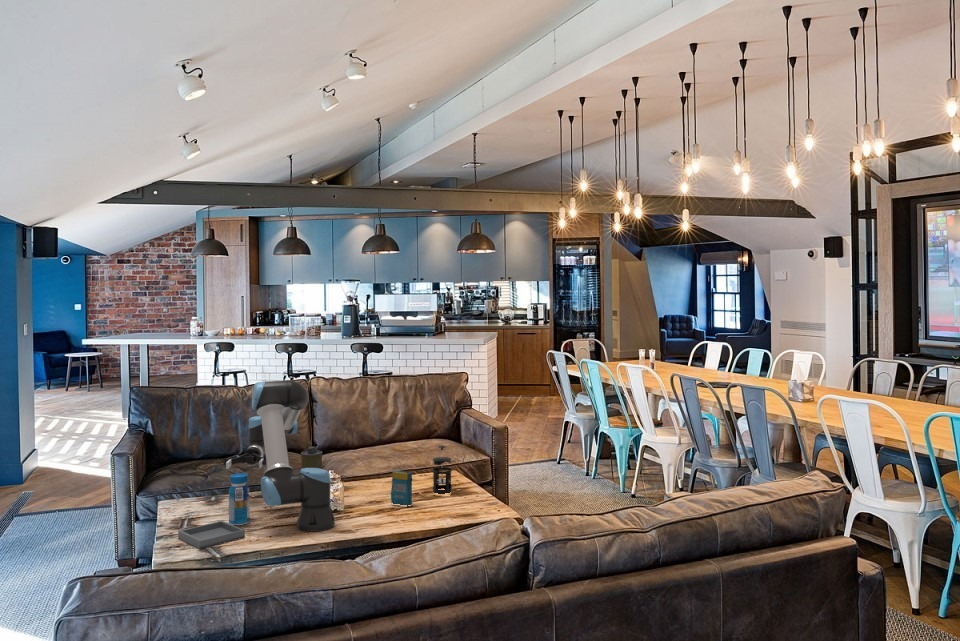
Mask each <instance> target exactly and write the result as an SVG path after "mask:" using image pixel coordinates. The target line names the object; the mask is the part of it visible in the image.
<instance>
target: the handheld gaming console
mask: <svg viewBox="0 0 960 641" xmlns="http://www.w3.org/2000/svg"><path fill="white" fill-rule="evenodd" d="M412 485H413V474H412V472H410V471H409V472H408V471H399V470H393V471H391V489H390V490H391V491H390V499H391V501H390V502H391V504H392V503H393V504H400V505H407V506H408V505H411V504H412V505H413V486H412Z"/></svg>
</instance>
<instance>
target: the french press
mask: <svg viewBox="0 0 960 641" xmlns="http://www.w3.org/2000/svg"><path fill="white" fill-rule="evenodd" d="M437 448H439V449H440V451H443V450H444V449H445V448H447V446H446V445H438V446H437ZM432 461H433V465H435V466H436V467H433V468H432V474H433V477H432V478H433V480H432V481H433V483H432V493H433V492H434V493H438V494H445V493H450V492H451V491H453V487H452V470H453V468H451V467H447V466H443V464H444V463H450V464H451V463H452V462H451V461H452V458H451V457H448V456H436V457H434V458H432ZM438 466H439V467H438ZM440 475H441V478H440ZM443 475H445V478H443ZM441 488H444V489H445V490H438V489H441Z"/></svg>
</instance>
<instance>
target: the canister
mask: <svg viewBox="0 0 960 641" xmlns="http://www.w3.org/2000/svg"><path fill="white" fill-rule="evenodd" d="M306 449H307V450H304V451H301V453H300V454H301V455H300V456H301V458H300V459H301V460H300V461H301V468H300V470H301V469H303V468H319V469H323V451H321V450H319V449H317V447H316V446H308V447H307V448H306Z"/></svg>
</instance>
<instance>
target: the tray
mask: <svg viewBox="0 0 960 641" xmlns="http://www.w3.org/2000/svg"><path fill="white" fill-rule="evenodd" d="M245 531H246V530H245V529H243V528H241V527H238V526H234V525H232V524H229V522H227V521H225V520H219V521H215V522H211V523H205V524H201V525H198V526H192V527H190V528H185V529H182V530H177V532H178V533H177V535H178V536H177V538H179V539H178V540H180V541H182V542H185V543H186V544H188V543H189V545H190V546H192V547H195V548H196V549H199V550H201V549H202V550H203V549H207V548H209V546H211V547H213V546H218V545H221V544H220V543H222V544H225V543H224V542H226V543H229V542H228V541H230V542H233V541H232V540H234V541H236V540H235V539H238V540H240V539H239V538H242V539H245V538H246V532H245ZM244 537H245V538H244ZM217 544H218V545H217Z"/></svg>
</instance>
